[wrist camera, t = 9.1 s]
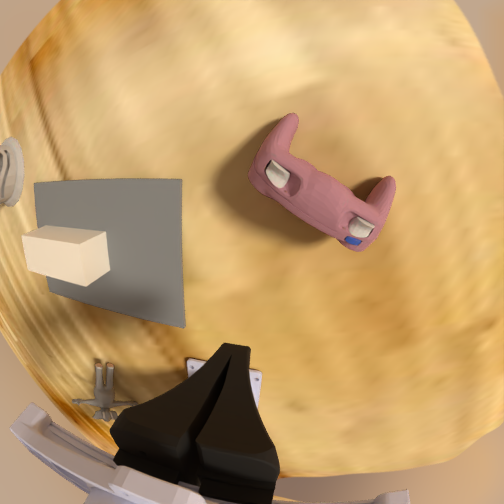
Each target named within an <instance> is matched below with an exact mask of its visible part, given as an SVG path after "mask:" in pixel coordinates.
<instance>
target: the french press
mask: <svg viewBox="0 0 504 504" xmlns="http://www.w3.org/2000/svg"><path fill="white" fill-rule="evenodd" d="M23 181H24V159H23V154H22V149H21V146H20V145H19V143H18V141H17V139H15V138H13V137H9V138H7V139H5V140H4V142H3V143H2V145H0V204H1V203H4V204H5V205H6V206H8V207H9V206H14V205H15V204H16V203H17V202H18V201H19V198H20V195H21V192H22V189H23Z"/></svg>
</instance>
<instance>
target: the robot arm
mask: <svg viewBox="0 0 504 504" xmlns="http://www.w3.org/2000/svg"><path fill="white" fill-rule="evenodd" d="M250 352H251V349H250V347H248V346H242V345H235V344H230V343H223V344H222V345H221V347H220V348H219V349H218V350H217V351H216V352H215V353H214V355H213V356H212V357H211V358H210V359H209V360H208V361H207V362H206V361H201V360H196V359H192V358H190V359H188V361H187V369H188V377H189V378H187V379H186V380H185V381H183V382H182V383H180V384H179V385H177V386H176V387H174V388H173V389H171V390H169V391H168V392H166V393H164V394H162V395H160V396H158V397H156V398H154V399H152V400H149V401H147V402H145V403H142V404H139V405H136V406H133V407H130V408H126V409H124V410H123V411H122V412H121V414H120V415H119V416H118V417H117V419H116V420H115V422H114V423H113V425H112V427H111V428H110V434H111V436H112V438H113V439H114V441H115V443H116V444H117V446H118V447H119V450H118V452H117V453H116V455H115V456H113V455H111V454H109V453H107V452H105V451H103V450H101V449H99V448H97V447H95V446H93V445H91V444H89V443H88V442H86V441H84V440H82V439H80V438H79V437H77V436H75V435H74V434H72V433H70V432H69V431H67V430H65V429H64V428H62V427H60V426H59V425H58V424H56V423H54V422H53V421H52V419H51V418H50V416H49V415H48V414H47V413H46V412H45V411H44V410H43V409H41V408H40V407H38V406H37V405H35V404H34V403H33V402H31V403H30V404H29V405H28V407H27V408H26V409H25V410H24V411H23V412H22V413H21V415H20V416H19V417H18V418H17V419H16V421H15V422H14V423H13V424H12V425H11V427H10V430H11V431H12V432H13V434H14V435H15V436H16V437H17V438H18V439H19V440H20V442H22V444H23V445H24V446H25V447H26V448H27V449H28V450H29V451H30V452H31V453H32V454H33V455H35V456H36V457H37V458H38V459H40V460H41V461H42V462H43V463H45V464H46V465H47V466H49V467H50V468H51V469H53V470H54V471H55V472H57V473H58V474H59V475H61V476H62V477H64V478H65V479H66V480H68V481H69V482H71V483H73V484H74V485H75V486H77V487H78V488H80V489H81V490H83V491H85V492H86V493H88V494H89V495H88V497H87V499H86V501H85V502H84V504H410V500H409V492H408V490H407V489H406V490H399V491H393V492H387V493H383V494H380V495H379V496H377V497H376V498H375V499H371V500H361V501H348V502H293V501H279V500H272V499H273V493H274V490H275V485H276V480H277V478H278V476H279V473H280V465H279V460H278V456H277V452H276V448H275V445H274V444H273V442H272V440H271V439H270V437H269V435H268V433H267V431H266V429H265V427H264V425H263V422H262V420H261V417H260V415H259V412H258V403H259V395H260V388H261V380H262V373H261V372H260V371H257V370H250V369H249V365H250ZM192 366H193V367H192ZM257 378H258V379H257Z"/></svg>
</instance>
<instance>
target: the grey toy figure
mask: <svg viewBox="0 0 504 504" xmlns="http://www.w3.org/2000/svg"><path fill="white" fill-rule="evenodd" d="M102 368H103V366H102V364H100V363H96V364H95V370H96V386H95V388H94V395H95V399H89V400H82V399H73V400H72V403H76V404H78V405H80V404H81V403H86V404H89V405H93V406H97V407H100V408H101V410H99V411H96V412H95V415H94V416H93V418H94V419H103V420H104V421H110V420H111V419H114V420H116V419H117V417H118V415H117V413H116V411H110V408H112V407H116V406H122V405H131V406H133V405H138V403H137V402H135V401H115V400H114V396H115V392H114V389H113V372H114V365H113V364H111V363H107V374H106V385H105V384H104V381H103V376H102Z"/></svg>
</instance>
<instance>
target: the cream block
mask: <svg viewBox="0 0 504 504" xmlns="http://www.w3.org/2000/svg"><path fill="white" fill-rule="evenodd" d="M22 241H23V247H24V253H25V258H26V263H27V268H28V270H30V271H33V272H36V273H39V274H43V275H46V276H49V277H53V278H56V279H60V280H63V281H67V282H70V283H74V284H78V285H81V286H85V287H86V286H88V285H89V284H91V283H92V282H94V281H95V280H97V279H98V278H99V277H101V276H102V275H104V274H105V273H107V272H108V271H110V265H109V257H108V248H107V238H106V232H105V231H96V230H86V229H77V228H67V227H57V226H48V225H46V226H43V227H40V228H38V229H35V230H33V231H30V232H28V233H26V234H23V235H22Z"/></svg>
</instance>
